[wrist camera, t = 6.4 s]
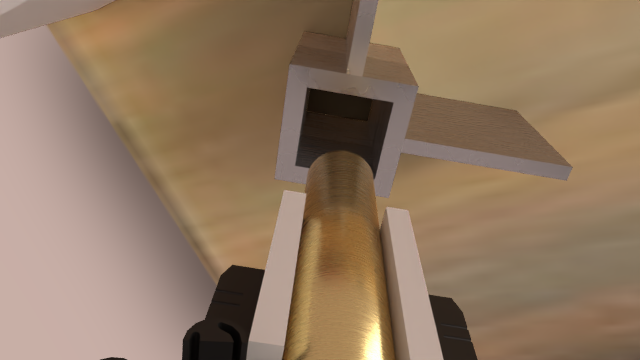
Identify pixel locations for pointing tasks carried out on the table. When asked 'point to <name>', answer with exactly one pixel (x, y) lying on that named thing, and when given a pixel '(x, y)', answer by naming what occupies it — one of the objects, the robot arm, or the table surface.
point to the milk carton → (41, 13)
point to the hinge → (395, 114)
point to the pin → (339, 268)
